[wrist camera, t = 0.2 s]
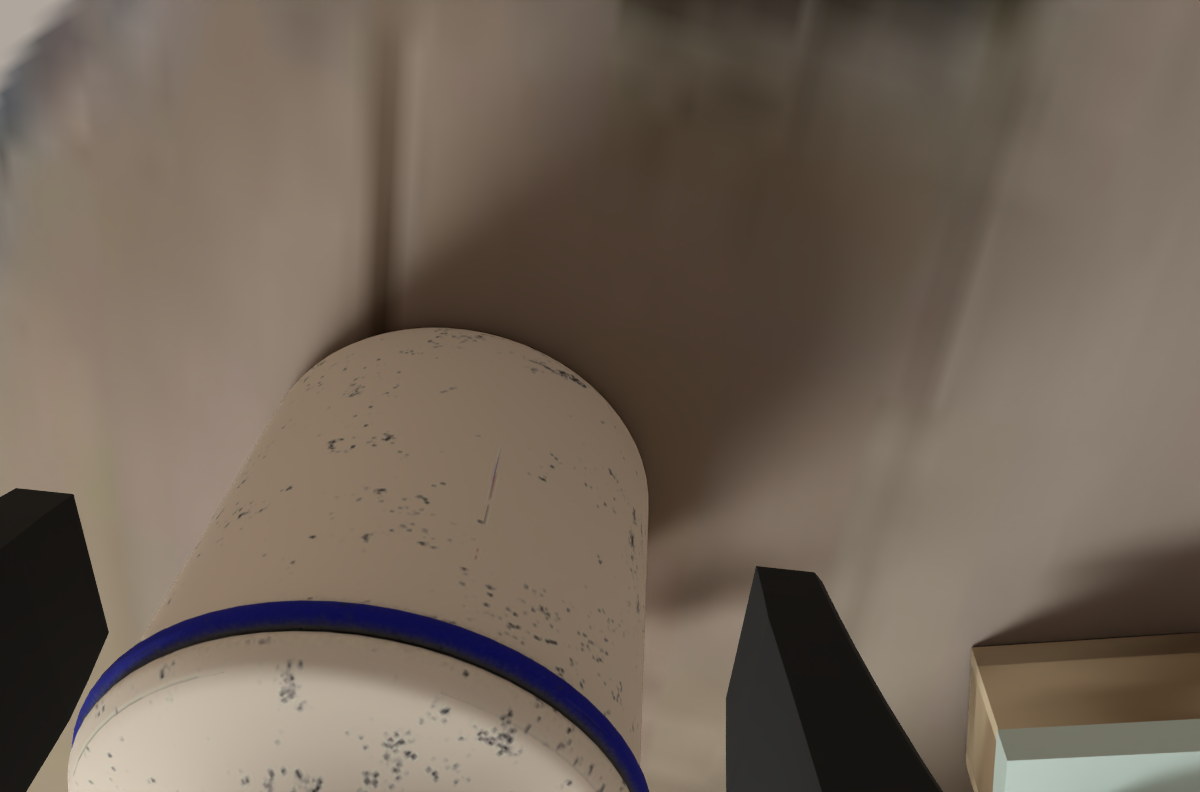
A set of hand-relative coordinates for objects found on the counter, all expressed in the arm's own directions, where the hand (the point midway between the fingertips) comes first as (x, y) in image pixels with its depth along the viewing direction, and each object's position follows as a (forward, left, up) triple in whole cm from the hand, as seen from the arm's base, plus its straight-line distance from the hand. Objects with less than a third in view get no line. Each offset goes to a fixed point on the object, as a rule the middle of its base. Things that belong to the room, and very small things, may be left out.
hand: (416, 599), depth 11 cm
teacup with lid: (-7, +2, -10) cm, 13 cm away
